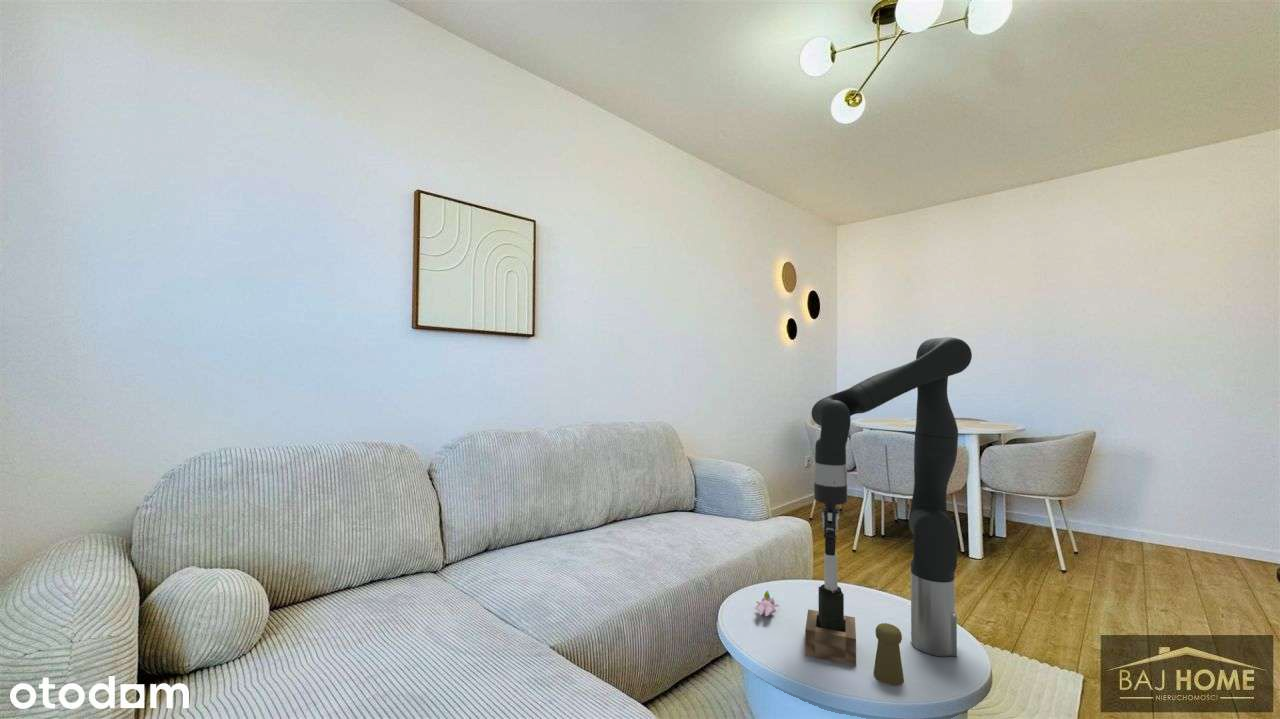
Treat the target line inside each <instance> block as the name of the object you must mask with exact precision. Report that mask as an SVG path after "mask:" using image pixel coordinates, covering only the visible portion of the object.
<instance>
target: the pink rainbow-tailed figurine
mask: <svg viewBox="0 0 1280 719" xmlns="http://www.w3.org/2000/svg"><path fill="white" fill-rule="evenodd" d="M770 596H771V595H770V593H769V590H766V591H765V593H764V596H763V597H762V599H761V600H760V601H758V600H756V601H755V602H756V604H757V605H756V609H757V610H756V611H757V612H758V615H759V616H762V615H764V616H765V617H768V616H770V615H773V614H774V613H776V611H777V609H776V608H775V607H779V606H780V604H779V603H776V604H775V599H774V597H770Z"/></svg>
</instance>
